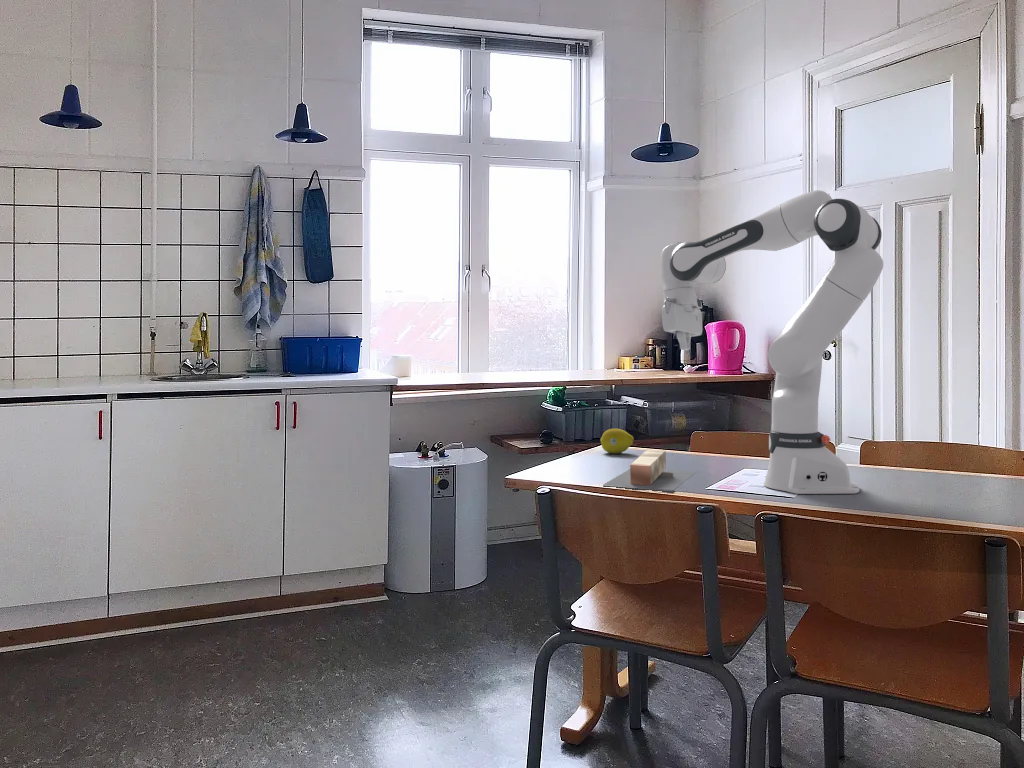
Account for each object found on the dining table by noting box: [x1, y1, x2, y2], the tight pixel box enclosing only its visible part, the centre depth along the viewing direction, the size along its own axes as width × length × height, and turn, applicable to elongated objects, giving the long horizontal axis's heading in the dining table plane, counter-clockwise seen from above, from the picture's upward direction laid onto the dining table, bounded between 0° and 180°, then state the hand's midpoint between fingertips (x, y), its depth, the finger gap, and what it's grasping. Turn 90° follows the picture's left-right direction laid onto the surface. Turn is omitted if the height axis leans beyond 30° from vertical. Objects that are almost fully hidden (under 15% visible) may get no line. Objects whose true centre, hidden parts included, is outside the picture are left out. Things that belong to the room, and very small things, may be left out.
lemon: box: [599, 428, 634, 455], centre depth 263 cm, size 11×8×8 cm
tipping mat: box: [602, 468, 697, 494], centre depth 218 cm, size 26×18×2 cm
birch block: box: [629, 449, 667, 485], centre depth 217 cm, size 5×5×16 cm
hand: (685, 349), depth 232 cm, fingers closed
